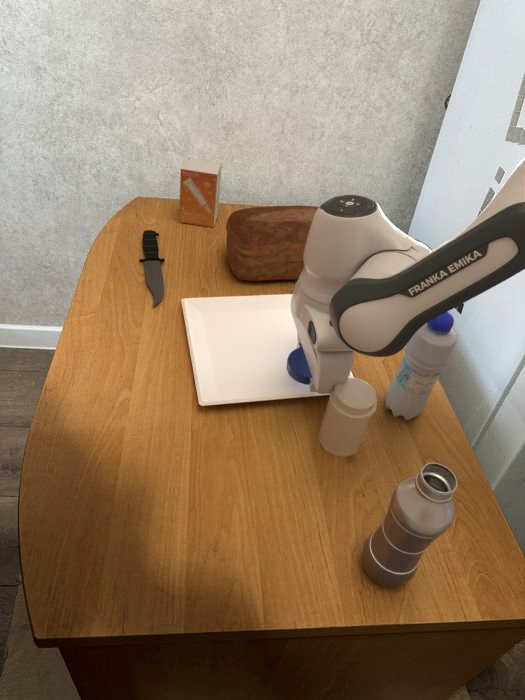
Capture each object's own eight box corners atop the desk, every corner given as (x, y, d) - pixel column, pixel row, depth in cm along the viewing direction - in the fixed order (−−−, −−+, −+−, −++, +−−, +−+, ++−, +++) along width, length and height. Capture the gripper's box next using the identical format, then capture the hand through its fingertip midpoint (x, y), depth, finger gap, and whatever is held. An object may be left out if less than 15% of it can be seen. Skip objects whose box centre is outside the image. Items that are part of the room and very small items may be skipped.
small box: (179, 223, 120) (179, 168, 111) (184, 209, 125) (185, 156, 116) (214, 228, 120) (217, 174, 111) (218, 214, 125) (222, 161, 116)
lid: (277, 365, 86) (278, 357, 85) (308, 348, 90) (310, 340, 88) (307, 391, 82) (308, 384, 81) (338, 373, 86) (340, 365, 85)
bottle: (387, 424, 83) (429, 329, 70) (376, 392, 88) (414, 298, 75) (427, 424, 84) (476, 331, 71) (414, 393, 89) (458, 299, 76)
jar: (358, 423, 83) (376, 377, 76) (363, 458, 78) (382, 413, 71) (317, 419, 82) (330, 373, 75) (319, 454, 78) (334, 408, 71)
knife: (171, 302, 97) (143, 303, 95) (171, 309, 98) (143, 310, 96) (160, 229, 114) (136, 229, 113) (160, 236, 115) (136, 236, 114)
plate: (357, 399, 87) (361, 390, 85) (198, 413, 80) (199, 404, 79) (313, 300, 105) (315, 292, 103) (180, 306, 99) (180, 297, 97)
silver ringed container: (368, 532, 69) (417, 440, 56) (417, 561, 67) (479, 471, 54) (349, 573, 65) (396, 483, 52) (400, 604, 63) (463, 519, 49)
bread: (218, 250, 114) (222, 198, 105) (339, 245, 121) (351, 196, 113) (232, 289, 104) (237, 235, 96) (362, 281, 112) (377, 230, 103)
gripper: (288, 261, 83) (276, 327, 93) (321, 351, 69) (303, 419, 78) (327, 261, 85) (311, 326, 94) (366, 350, 70) (343, 416, 80)
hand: (307, 369), depth 86 cm, fingers closed on lid, 7 cm apart
